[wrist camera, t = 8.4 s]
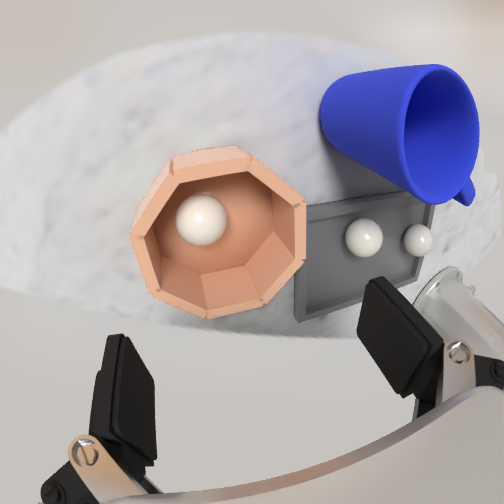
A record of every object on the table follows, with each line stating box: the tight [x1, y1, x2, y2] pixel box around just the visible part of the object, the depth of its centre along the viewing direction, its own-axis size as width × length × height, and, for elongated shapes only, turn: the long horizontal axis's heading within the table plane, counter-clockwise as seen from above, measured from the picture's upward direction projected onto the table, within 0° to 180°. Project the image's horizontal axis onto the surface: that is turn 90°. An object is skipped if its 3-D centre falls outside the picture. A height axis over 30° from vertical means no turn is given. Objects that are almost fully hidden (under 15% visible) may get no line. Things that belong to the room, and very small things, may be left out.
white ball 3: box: [404, 224, 433, 257], centre depth 26 cm, size 4×4×4 cm
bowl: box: [130, 146, 306, 319], centre depth 19 cm, size 11×11×5 cm
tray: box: [294, 191, 435, 322], centre depth 26 cm, size 17×12×1 cm
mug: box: [320, 64, 479, 206], centre depth 16 cm, size 8×12×10 cm
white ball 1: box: [175, 194, 227, 246], centre depth 18 cm, size 4×4×4 cm
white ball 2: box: [345, 218, 383, 257], centre depth 23 cm, size 4×4×4 cm
